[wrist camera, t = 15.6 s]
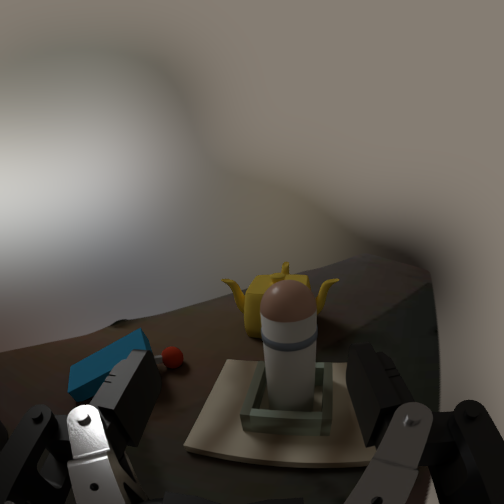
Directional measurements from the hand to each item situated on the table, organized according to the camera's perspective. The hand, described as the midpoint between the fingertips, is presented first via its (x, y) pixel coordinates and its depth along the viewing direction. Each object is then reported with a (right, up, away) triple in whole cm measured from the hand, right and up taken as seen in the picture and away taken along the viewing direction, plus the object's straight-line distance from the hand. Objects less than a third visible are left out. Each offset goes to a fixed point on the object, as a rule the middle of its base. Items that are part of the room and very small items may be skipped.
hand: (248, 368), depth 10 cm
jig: (+5, -14, +18) cm, 23 cm away
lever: (-18, -15, +25) cm, 35 cm away
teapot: (+5, -9, +37) cm, 39 cm away
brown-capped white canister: (+5, -13, +17) cm, 22 cm away
